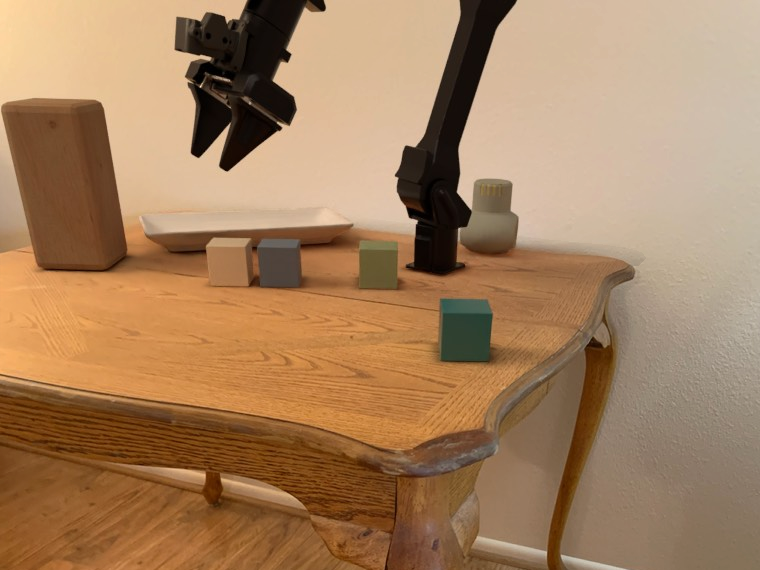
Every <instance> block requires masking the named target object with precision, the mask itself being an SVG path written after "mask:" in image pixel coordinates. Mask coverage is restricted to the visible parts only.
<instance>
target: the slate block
mask: <svg viewBox="0 0 760 570" xmlns="http://www.w3.org/2000/svg"><path fill="white" fill-rule="evenodd" d="M256 251H257V264H258V265H257V266H258V276H259V286H260V287H261V288H299V286H300V284H301V281H302V279H303V271H302V270H303V269H302V252H301V251H302V248H301V244H300V239H262V240H261V242H260V244H259V245H258V247H256Z"/></svg>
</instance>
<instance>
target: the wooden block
mask: <svg viewBox="0 0 760 570" xmlns="http://www.w3.org/2000/svg"><path fill="white" fill-rule="evenodd" d="M0 108H1V109H0V113H1V117H2V122H3V127H4V130H5V134H6V138H7V143H8V148H9V153H10V156H11V160H12V164H13V169H14V173H15V177H16V183H17V186H18V190H19V195H20V199H21V203H22V208H23V213H24V216H25V220H26V225H27V229H28V233H29V238H30V243H31V247H32V251H33V255H34V259H35V263H36V265H37V267H38V268H41V269H44V270H70V271H105V270H107V269H109V268H111V267H112V266H113V265H115V264H116V263H117V262H119V261H120V260H121V259H123V258H124V257H126V256H127V254H128V243H127V239H126V233H125V226H124V221H123V215H122V208H121V204H120V196H119V190H118V184H117V178H116V172H115V167H114V161H113V155H112V148H111V143H110V137H109V130H108V125H107V119H106V113H105V108H104V106H103V104H102V102H101V101H98V100H97V99H89V98H88V99H87V98H86V99H84V98H53V97H48V98H47V97H32V98H31V97H30V98H25V99H19V100H11V101H6V102H4V103H2V104H1V107H0Z"/></svg>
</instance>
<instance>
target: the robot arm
mask: <svg viewBox="0 0 760 570" xmlns="http://www.w3.org/2000/svg"><path fill="white" fill-rule="evenodd" d="M325 2H326V1H325V0H246V1H245V4H244V6H243V9H242V11H241V14H240V16H239V18H232V19H229V20H228V22H227V18H226V16H225V15H222V14H219V13H215V12H211V11H206V12H205V13H204V15H203V16H202V18H201V20H198V19H197V18H196V19H194V18H190V17H184V16H176V17H175V33H174V51H175V52H179V53H185V54H190V55H193V56H198V57H200V56H204V57H208V58H210V60H209V59H204V58H199V59H195V60H192V61H190V63H189V65H188V67H187V70H186V73H185V75H184V78H185V79H186V80H187V88H188V89H189V90H190V93H191V95H192V97H193V100H194V103H195V110H194V120H193V129H192V137H191V144H190V146H191V147H190V154H191V156H193V157H195V158H197V159H200V158H201V157H202V156H203V155H204V154H205V153H206V152H207V151H208V149H209V148H210V147H211V146H212V145H213V144H214V142H216V140H217V139H218V138H219V137H220V136H221V134H222V133H224V131H225V130H226V129H227V127H229V128H228V130H227V134H226V137H225V141H224V144H223V148H222V151H221V154H220V159H219V164H218V167H219V169H221V170H222V171H224V172H225V173H226V172H227V173H228V172H230V171H231V170H232V169H233V168H234V167H235V166H236V165H238V164H239V163H240V162H241V161H243V160H244V159H245V158H246V157H247V156H248V155H249V154H250V153H252V152H253V151H254V150H256V149H257V148H258V147H260V145H262V144H263V143H264V142H265V141H267V140H268V139H269V138H271V137H272V136H273V135H275V134H276V133H277V132H281V131H282V130H283V126H282V125H284V126H287V127H290V126H291V125H292V122H293V120H294V118H295V116H296V113H297V111H298V108H297V104H296V98H295V96H294V95H292V93H290V92H288V91H287V90H286V89H284V88H283V87H281V85H279V84H277V83H276V82H275V81H274V80H275V76H276V75H277V73H278V71H279V68H280V66H281V63H284V64H288V63H289V62H290V60H291V58H292V56H293V53H291V52H290V51H289V50H287V49H288V47H289V45H290V43H291V40H292V38H293V36H294V33H295V31H296V29H297V26H298V24H299V22H300V20H301V17H302V15H303V13H304V11H305V9H306V10H308V11H309V12H310V13H324V12H325V11H326V10H327V6H326V3H325ZM517 2H518V0H459V10H460V11H459V13H460V15H459V18H458V22H457V26H456V29H455V32H454V35H453V36H454V37H453V40H452V42H451V47H450V50H449V52H448V56H447V59H446V62H445V65H444V69H443V71H442V76H441V79H440V82H439V86H438V89H437V93H436V95H435V98H434V101H433V105H432V109H431V112H430V115H429V117H428V122H427V124H426V125H427V126H426V128H425V132H424V134H423V136H422V138H421V139H420V140H419V142H418V143H417V144H416V146H411V145H408V144H407V145H404V148H403V150H402V154H401V160H400V165H399V166H398V169H397V171H396V172H395V174H394V177H395V178H397V182H396V193H397V195H398V197H399V200H400V202H401V203H402V204H403V206H405V209H406V213H407V216H408V218H409V219H410V220H415V221H416V222H417V223H415V231H414V235H415V236H414V241H413V242H414V243H413V244H414V245H413V261H412V262H409V263H406V264H405V269H409V270H413V271H419V272H423V273H428V274H433V275H439V276H445V275H447V274H450V273H453V272H455V271H459V270H461V269H464V268H466V263H465V262H459V261H458V257H457V256H458V243H459V229H460V228H463V227H467V226H468V223H469V220H470V217H471V214H472V211H471V209H472V208H470V207H469V205H468V204H467V203H466V201H465V200H464V199H463V198H462V197H461V195H460V194H459V193H458V189H459V184H460V178H461V162H460V151H459V149H460V144H461V142H462V138H463V136H464V132H465V129H466V126H467V122H468V120H469V116H470V114H471V110H472V107H473V104H474V101H475V98H476V95H477V92H478V89H479V86H480V82H481V79H482V76H483V73H484V70H485V67H486V64H487V60H488V57H489V54H490V51H491V49H492V45H493V41H494V38H495V35H496V32H497V30H498V29H499V26H500V25H501V24H502V22H503V21H504V19H505V18H506V17H507V15H508V14H509V13H510V12H511V10H512V9H513V8H514V7H515V5H516V4H517Z"/></svg>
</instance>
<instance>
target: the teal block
mask: <svg viewBox="0 0 760 570" xmlns="http://www.w3.org/2000/svg"><path fill="white" fill-rule="evenodd" d="M493 317H494V313H493V311H492V308H491V305H490V302H489V300H488V299H487V298H440V299H439V312H438V332H437V333H438V334H437V347H438V353H439V360H440V361H441V362H490V352H491V340H492V339H491V338H492V328H493Z"/></svg>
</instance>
